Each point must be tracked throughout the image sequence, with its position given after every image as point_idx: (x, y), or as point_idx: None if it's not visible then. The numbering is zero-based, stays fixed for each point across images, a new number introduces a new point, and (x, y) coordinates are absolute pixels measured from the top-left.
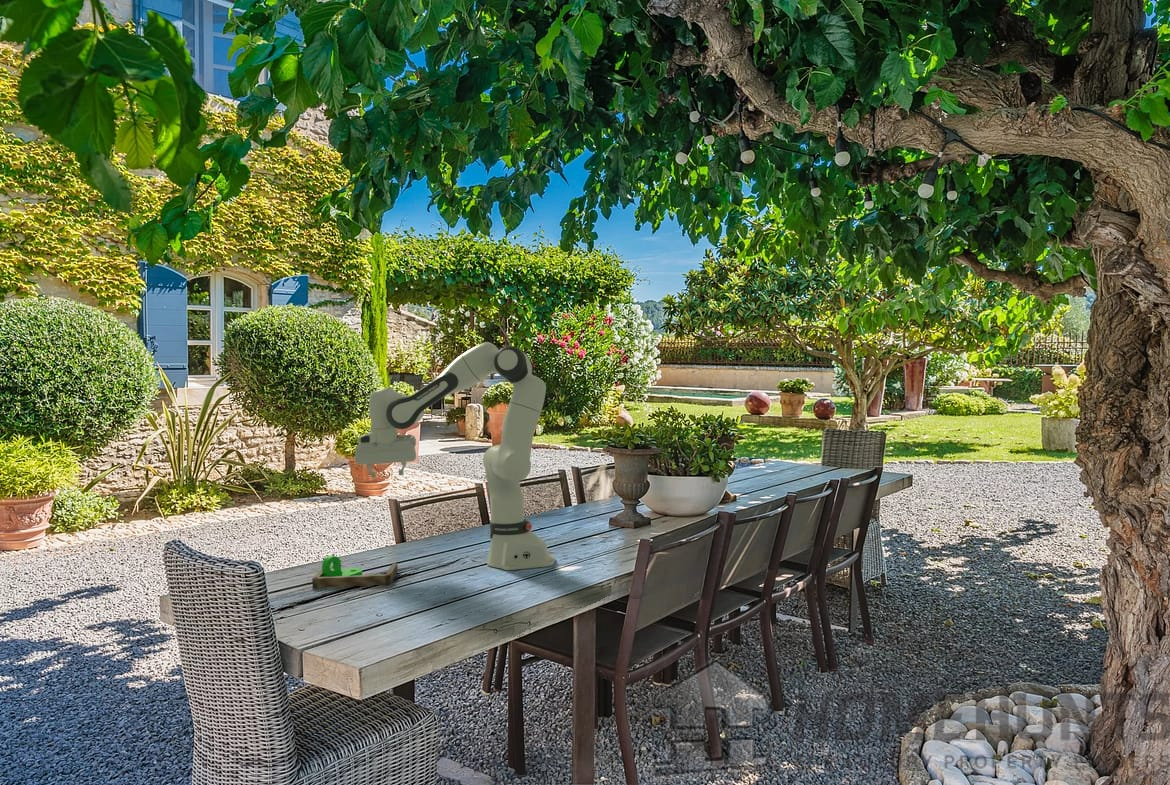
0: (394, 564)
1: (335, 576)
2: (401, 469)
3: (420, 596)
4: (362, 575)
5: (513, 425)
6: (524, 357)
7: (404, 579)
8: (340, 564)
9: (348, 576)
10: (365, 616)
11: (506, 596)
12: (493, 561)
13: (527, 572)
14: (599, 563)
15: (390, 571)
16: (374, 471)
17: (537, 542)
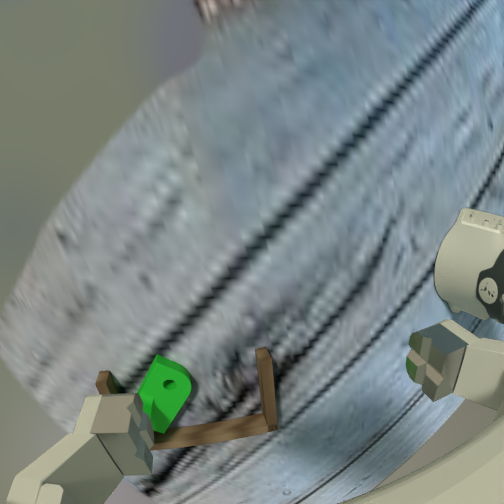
0: (267, 368)
1: (166, 443)
2: (462, 394)
3: (330, 444)
4: (221, 436)
5: None
6: None
7: (292, 386)
8: (150, 416)
9: (194, 442)
10: (271, 498)
11: (428, 413)
12: (447, 296)
13: (470, 315)
14: None
15: (272, 411)
16: (117, 436)
17: None
